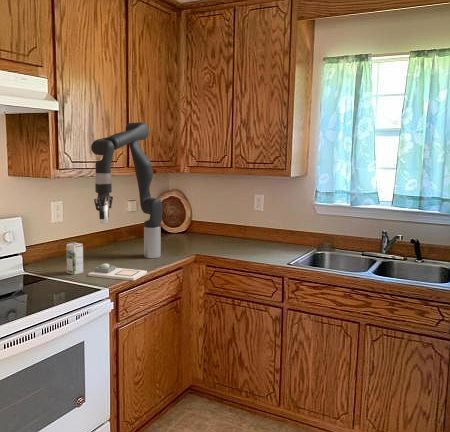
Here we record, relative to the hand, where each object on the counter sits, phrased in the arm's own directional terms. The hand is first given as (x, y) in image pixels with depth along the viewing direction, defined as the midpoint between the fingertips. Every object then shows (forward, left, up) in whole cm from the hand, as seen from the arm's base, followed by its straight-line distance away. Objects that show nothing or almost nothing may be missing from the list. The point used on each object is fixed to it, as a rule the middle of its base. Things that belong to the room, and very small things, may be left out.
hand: (104, 218), depth 225 cm
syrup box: (+4, -14, -27) cm, 31 cm away
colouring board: (0, +7, -27) cm, 28 cm away
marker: (0, 0, -2) cm, 2 cm away
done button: (0, 0, -26) cm, 26 cm away
